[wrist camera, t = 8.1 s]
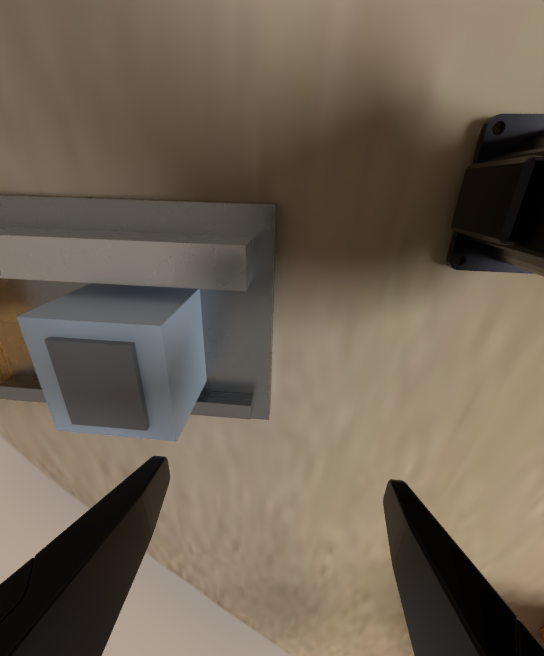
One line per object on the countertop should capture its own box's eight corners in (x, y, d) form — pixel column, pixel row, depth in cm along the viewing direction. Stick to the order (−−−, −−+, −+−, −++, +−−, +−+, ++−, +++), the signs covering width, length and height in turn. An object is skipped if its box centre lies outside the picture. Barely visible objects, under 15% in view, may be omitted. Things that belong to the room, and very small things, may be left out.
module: (199, 287, 16) (157, 329, 12) (206, 380, 19) (174, 446, 14) (93, 282, 17) (10, 319, 12) (114, 373, 19) (52, 435, 14)
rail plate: (276, 203, 15) (269, 208, 12) (270, 409, 21) (263, 456, 17) (-89, 191, 16) (-199, 192, 13) (-4, 387, 22) (-65, 427, 18)
